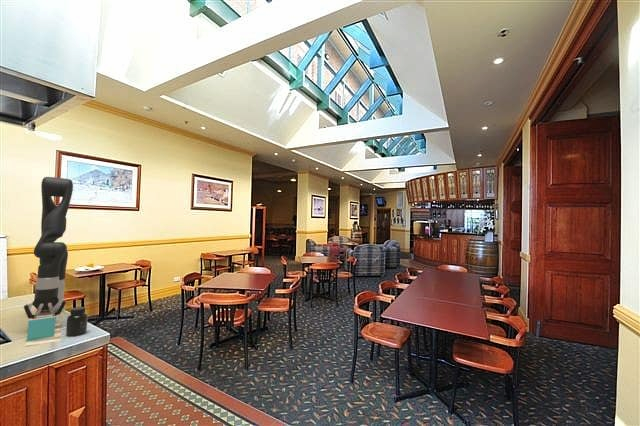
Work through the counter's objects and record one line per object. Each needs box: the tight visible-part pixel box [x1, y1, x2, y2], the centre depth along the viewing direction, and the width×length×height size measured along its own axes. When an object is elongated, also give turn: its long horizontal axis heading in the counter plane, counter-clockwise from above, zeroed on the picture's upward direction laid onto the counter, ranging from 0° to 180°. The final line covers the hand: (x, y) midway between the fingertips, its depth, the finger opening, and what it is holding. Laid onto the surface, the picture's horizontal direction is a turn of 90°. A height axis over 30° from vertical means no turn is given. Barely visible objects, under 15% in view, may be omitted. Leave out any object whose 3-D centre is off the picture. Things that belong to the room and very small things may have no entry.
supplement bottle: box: [65, 306, 89, 338], centre depth 122 cm, size 7×7×12 cm
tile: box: [26, 315, 57, 342], centre depth 116 cm, size 2×8×8 cm, turn 133°
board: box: [25, 321, 62, 348], centre depth 120 cm, size 26×10×1 cm, turn 43°
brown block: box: [36, 310, 53, 319], centre depth 122 cm, size 11×5×7 cm, turn 43°
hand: (43, 325), depth 124 cm, fingers closed on brown block, 4 cm apart
